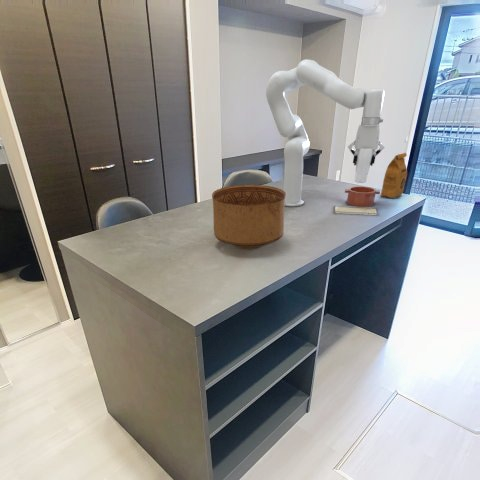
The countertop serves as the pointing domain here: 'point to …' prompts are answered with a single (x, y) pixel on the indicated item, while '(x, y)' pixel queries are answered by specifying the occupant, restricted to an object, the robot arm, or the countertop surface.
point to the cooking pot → (361, 196)
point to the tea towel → (355, 210)
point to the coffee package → (395, 177)
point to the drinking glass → (363, 164)
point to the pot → (248, 215)
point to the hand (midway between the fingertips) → (363, 164)
